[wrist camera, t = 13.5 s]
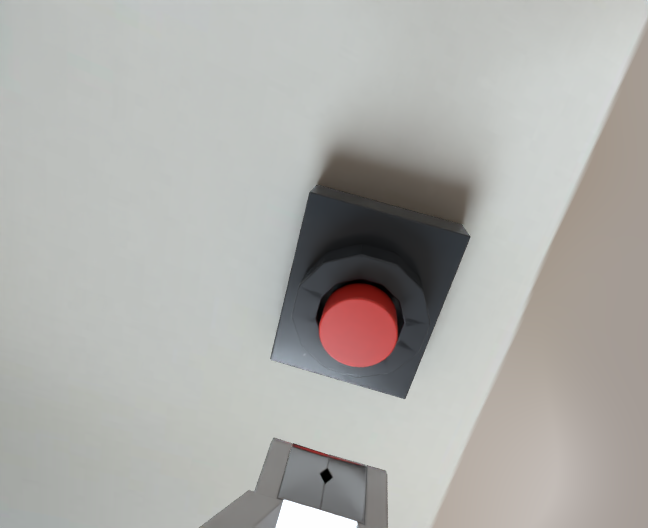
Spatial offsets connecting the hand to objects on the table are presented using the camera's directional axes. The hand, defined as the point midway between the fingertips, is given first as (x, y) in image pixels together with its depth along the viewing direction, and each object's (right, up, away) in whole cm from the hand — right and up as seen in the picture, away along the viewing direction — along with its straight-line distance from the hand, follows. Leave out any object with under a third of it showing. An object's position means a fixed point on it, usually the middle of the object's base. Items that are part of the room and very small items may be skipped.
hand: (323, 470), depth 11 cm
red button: (+2, +3, +10) cm, 10 cm away
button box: (+2, +4, +13) cm, 14 cm away
